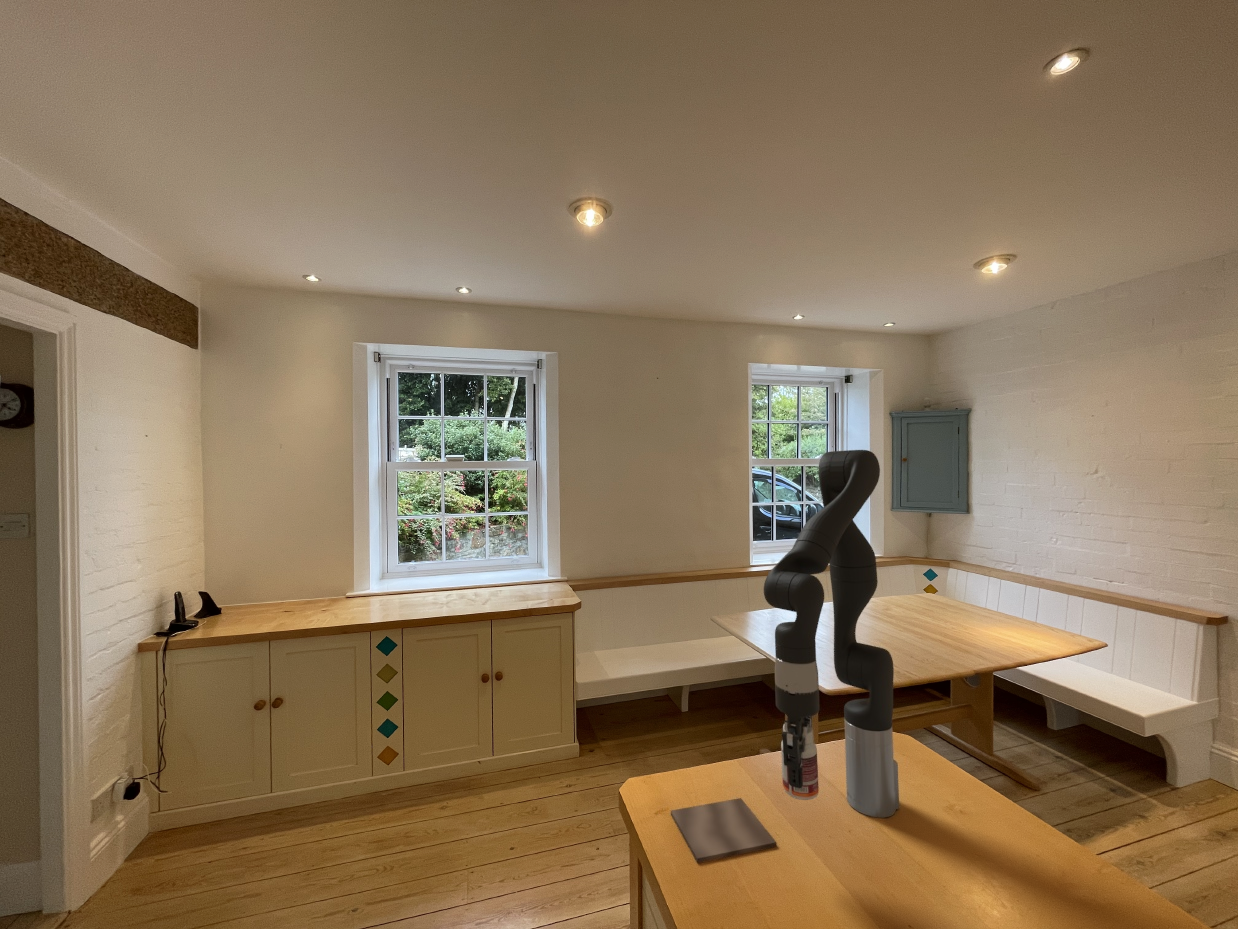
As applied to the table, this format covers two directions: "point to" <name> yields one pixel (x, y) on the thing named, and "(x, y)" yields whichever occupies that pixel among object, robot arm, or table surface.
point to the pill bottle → (803, 771)
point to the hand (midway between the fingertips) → (799, 776)
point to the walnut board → (721, 830)
